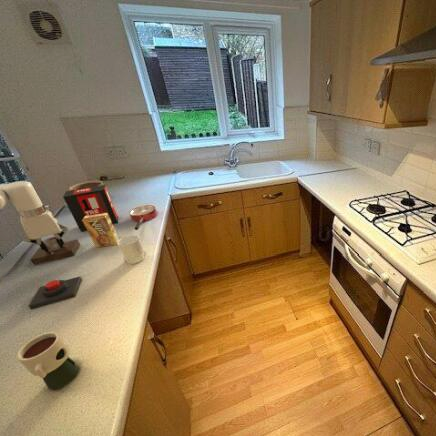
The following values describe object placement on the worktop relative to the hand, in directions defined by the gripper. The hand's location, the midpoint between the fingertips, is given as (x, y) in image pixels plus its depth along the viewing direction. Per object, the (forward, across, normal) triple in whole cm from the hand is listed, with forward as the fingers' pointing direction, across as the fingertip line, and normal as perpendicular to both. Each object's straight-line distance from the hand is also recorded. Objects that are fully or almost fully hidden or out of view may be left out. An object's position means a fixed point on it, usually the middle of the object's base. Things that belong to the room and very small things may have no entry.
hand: (54, 247), depth 106 cm
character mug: (+4, -2, +72) cm, 72 cm away
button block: (+4, 0, +32) cm, 32 cm away
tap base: (+4, 0, 0) cm, 4 cm away
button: (0, 0, +32) cm, 32 cm away
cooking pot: (+4, -18, -61) cm, 64 cm away
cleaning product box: (+4, -18, -21) cm, 28 cm away
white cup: (+4, -26, +28) cm, 38 cm away
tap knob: (0, 0, 0) cm, 0 cm away
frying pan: (+4, -37, -5) cm, 37 cm away
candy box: (+4, -18, +6) cm, 19 cm away
